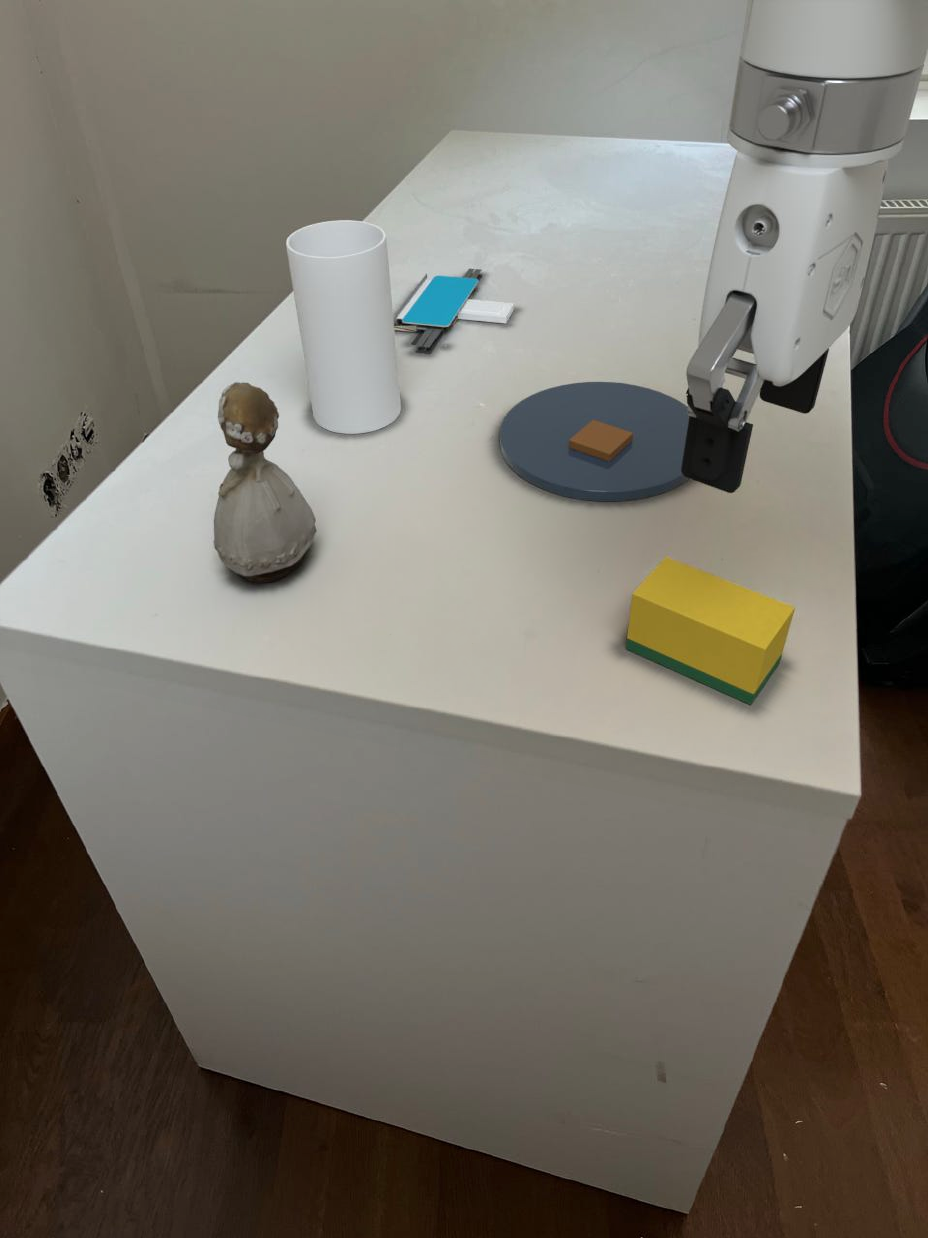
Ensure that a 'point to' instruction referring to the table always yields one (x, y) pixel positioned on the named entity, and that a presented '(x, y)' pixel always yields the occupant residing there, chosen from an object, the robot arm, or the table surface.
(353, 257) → the cup
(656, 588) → the sponge
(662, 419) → the plate
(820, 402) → the table surface
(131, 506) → the table surface
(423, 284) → the phone stand
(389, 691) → the table surface
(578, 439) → the brown square tile
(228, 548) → the figurine
